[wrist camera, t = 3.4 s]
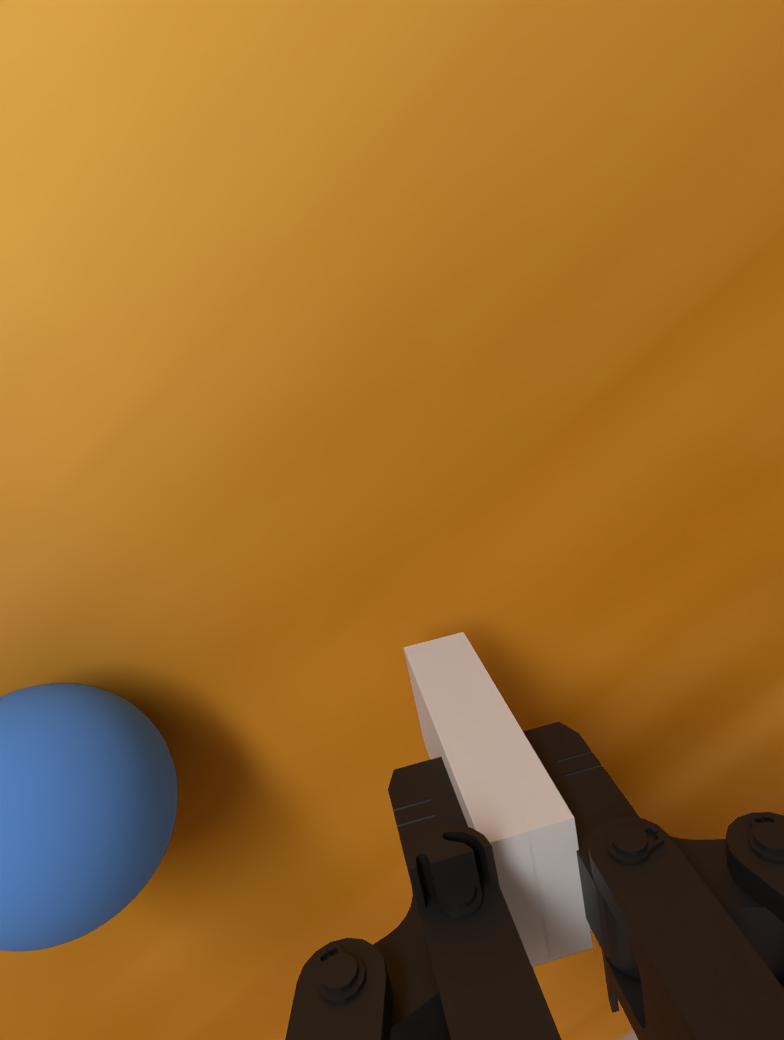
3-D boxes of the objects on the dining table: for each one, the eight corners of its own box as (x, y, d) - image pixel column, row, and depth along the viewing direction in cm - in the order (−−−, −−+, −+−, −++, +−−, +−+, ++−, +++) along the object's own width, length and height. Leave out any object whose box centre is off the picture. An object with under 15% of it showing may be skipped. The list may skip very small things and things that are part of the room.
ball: (205, 658, 18) (179, 797, 13) (172, 833, 20) (137, 1022, 15) (-24, 627, 17) (-152, 766, 12) (-42, 816, 19) (-164, 1014, 13)
